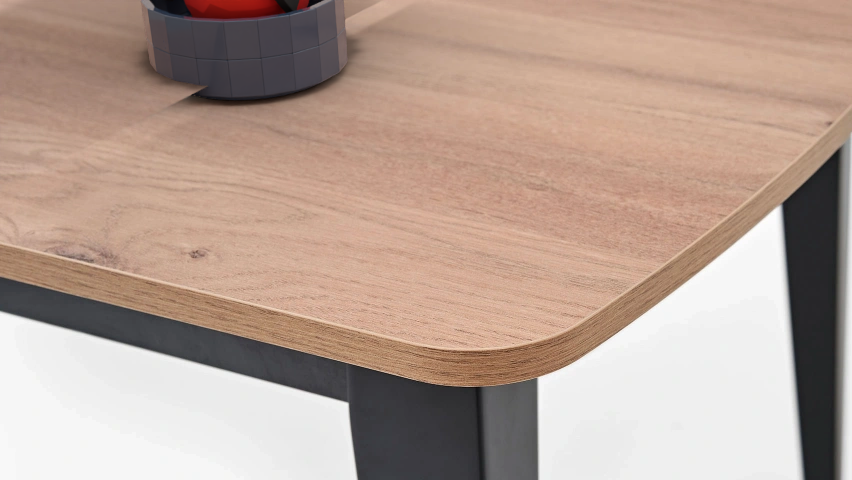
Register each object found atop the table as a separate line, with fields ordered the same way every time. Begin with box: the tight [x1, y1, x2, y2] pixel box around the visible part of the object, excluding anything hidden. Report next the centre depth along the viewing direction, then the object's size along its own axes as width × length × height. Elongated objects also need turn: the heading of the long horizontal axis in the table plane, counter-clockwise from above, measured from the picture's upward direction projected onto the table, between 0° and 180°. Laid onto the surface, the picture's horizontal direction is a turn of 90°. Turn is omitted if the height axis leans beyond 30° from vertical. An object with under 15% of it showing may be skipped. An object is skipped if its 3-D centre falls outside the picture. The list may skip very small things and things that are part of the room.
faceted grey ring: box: [140, 0, 348, 101], centre depth 88 cm, size 14×14×6 cm
